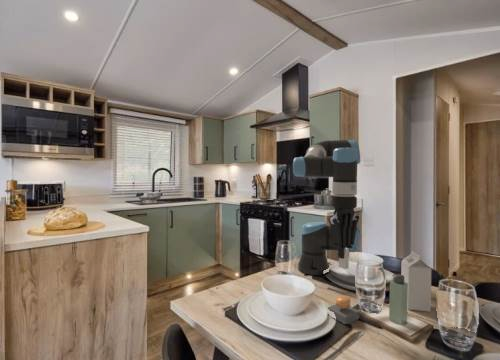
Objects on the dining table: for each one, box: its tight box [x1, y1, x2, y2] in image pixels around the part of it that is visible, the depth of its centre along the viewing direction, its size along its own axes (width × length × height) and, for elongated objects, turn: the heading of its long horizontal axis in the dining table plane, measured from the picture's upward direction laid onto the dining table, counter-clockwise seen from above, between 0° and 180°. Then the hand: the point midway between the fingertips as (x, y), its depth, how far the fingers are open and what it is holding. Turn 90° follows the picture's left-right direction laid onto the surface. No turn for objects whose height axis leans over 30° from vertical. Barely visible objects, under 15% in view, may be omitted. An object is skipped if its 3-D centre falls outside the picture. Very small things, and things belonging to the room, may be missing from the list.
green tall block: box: [388, 273, 408, 325], centre depth 82 cm, size 4×4×14 cm
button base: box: [327, 304, 360, 325], centre depth 86 cm, size 7×7×2 cm
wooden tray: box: [357, 303, 434, 344], centre depth 84 cm, size 18×13×2 cm
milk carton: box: [400, 250, 432, 313], centre depth 94 cm, size 7×7×19 cm
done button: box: [335, 295, 351, 308], centre depth 86 cm, size 4×4×2 cm
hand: (343, 267), depth 86 cm, fingers closed
